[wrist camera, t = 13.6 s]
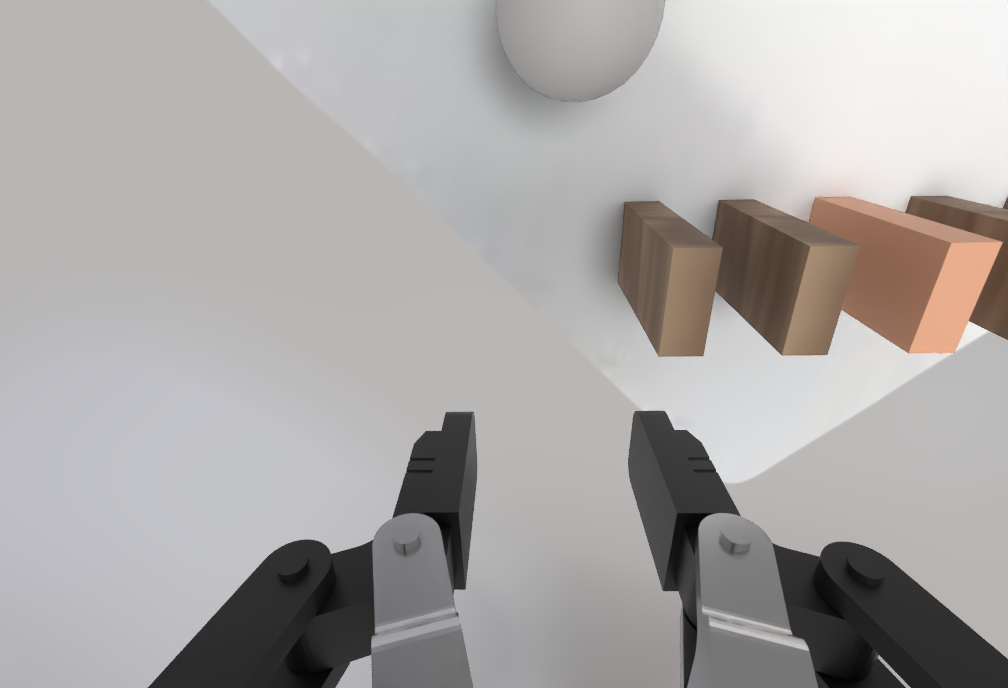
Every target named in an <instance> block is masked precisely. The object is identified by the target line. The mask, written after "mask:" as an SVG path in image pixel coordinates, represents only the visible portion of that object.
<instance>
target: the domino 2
mask: <svg viewBox="0 0 1008 688" xmlns="http://www.w3.org/2000/svg"><path fill="white" fill-rule="evenodd" d="M713 241H714V242H716V243H717V244H718V245H720V246H721V247H723V249H722V255H721V260H720V266H719V271H718V277H717V282H716V288H715V291H716V292H717V293H718V294H719V295H720V296H721V297H722V298H723V299H724V300H725V301H726V302H727V303H728V304H729V305H730V306H731V307H733V308H734V309H735V310H736V311H737V312H738V313H739V314H740V315H741V316H742V317H743V318H744V319H745V320H746V321H747V322H748V323H749V324H750V325H751V326H752V327H753V328H754V329H755V330H756V331H757V332H758V333H759V334H760V335H761V336H762V337H763V338H764V339H765V340H767V341H768V342H769V343H770V344H771V345H772V346H773V347H774V348H775V349H776V350H777V351H778V352H779V353H780V354H781V355H827V354H828V351H829V347H830V344H831V341H832V338H833V335H834V331H835V328H836V325H837V322H838V318H839V315H840V312H841V309H842V305H843V302H844V299H845V296H846V292H847V289H848V286H849V283H850V279H851V276H852V273H853V270H854V266H855V263H856V260H857V257H858V253H859V250H860V247H861V245H858V244H856V243H854V242H851V241H849V240H847V239H844V238H842V237H840V236H837V235H835V234H833V233H830V232H828V231H826V230H823V229H821V228H819V227H816V226H814V225H812V224H809V223H807V222H805V221H802V220H800V219H798V218H796V217H793V216H791V215H789V214H786V213H784V212H782V211H779V210H777V209H775V208H772V207H770V206H768V205H765V204H763V203H761V202H758V201H756V200H719V204H718V210H717V216H716V222H715V228H714V234H713Z"/></svg>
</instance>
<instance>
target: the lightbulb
mask: <svg viewBox="0 0 1008 688" xmlns="http://www.w3.org/2000/svg"><path fill="white" fill-rule="evenodd" d="M664 5H665V0H496V18H497V25H498V32H499V37H500V40H501V43H502V46H503V49H504V52H505V54H506V56H507V58H508V60H509V62H510V64H511V65H512V67H513V69H514V70H515V71H516V73H517V74H518V75H519V76H520V77H521V79H522V80H523V81H524V82H525V83H527V84H528V85H529V86H530V87H532V88H533V89H534V90H535V91H537V92H539V93H541V94H543V95H545V96H547V97H549V98H553V99H557V100H560V101H570V102H581V101H587V100H592V99H596V98H598V97H601V96H603V95H606V94H608V93H610V92H612V91H613V90H615V89H616V88H618V87H619V86H621V85H622V84H624V83H625V82H626V81H627V80H628V79H629V78H630V77H631V76H632V75H633V74H634V73H635V72H636V71H637V70H638V68H639V67H640V66H641V64H642V63H643V62H644V60H645V59H646V57H647V56H648V54H649V52H650V50H651V48H652V46H653V44H654V42H655V40H656V37H657V35H658V31H659V28H660V25H661V22H662V19H663V12H664Z"/></svg>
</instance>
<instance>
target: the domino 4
mask: <svg viewBox="0 0 1008 688" xmlns="http://www.w3.org/2000/svg"><path fill="white" fill-rule="evenodd" d="M906 213H907V214H910V215H914V216H917V217H920V218H924V219H927V220H930V221H934V222H937V223H941V224H944V225H947V226H951V227H954V228H957V229H961V230H964V231H968V232H971V233H974V234H978V235H981V236H984V237H988V238H991V239H995V240H998V241H1001V242H1003V243H1002V245H1001V247H1000V250H999V252H998V254H997V257H996V259H995V261H994V263H993V266H992V268H991V270H990V273H989V275H988V277H987V279H986V282H985V284H984V286H983V289H982V291H981V293H980V295H979V298H978V300H977V302H976V305H975V307H974V309H973V311H972V314H971V316H970V318H969V321H970V322H972V323H974V324H976V325H978V326H980V327H982V328H984V329H986V330H988V331H991V332H993V333H995V334H997V335H999V336H1001V337H1003V338H1005V339H1007V340H1008V210H1007V209H1002V208H998V207H993V206H989V205H985V204H980V203H976V202H971V201H967V200H963V199H958V198H954V197H950V196H911V198H910V201H909V204H908V207H907V210H906Z"/></svg>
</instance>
